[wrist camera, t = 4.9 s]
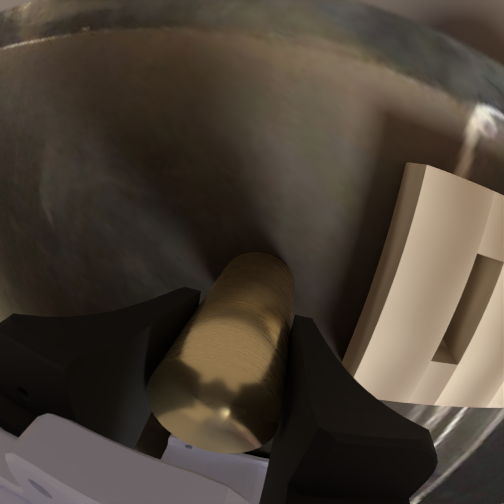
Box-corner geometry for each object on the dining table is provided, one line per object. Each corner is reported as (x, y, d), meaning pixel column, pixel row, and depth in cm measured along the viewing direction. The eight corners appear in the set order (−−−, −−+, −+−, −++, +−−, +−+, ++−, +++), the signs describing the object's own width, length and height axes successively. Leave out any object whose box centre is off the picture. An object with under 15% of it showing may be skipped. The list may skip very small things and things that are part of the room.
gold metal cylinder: (215, 310, 15) (147, 430, 8) (227, 243, 14) (146, 340, 7) (284, 327, 15) (262, 464, 8) (302, 261, 14) (296, 381, 7)
